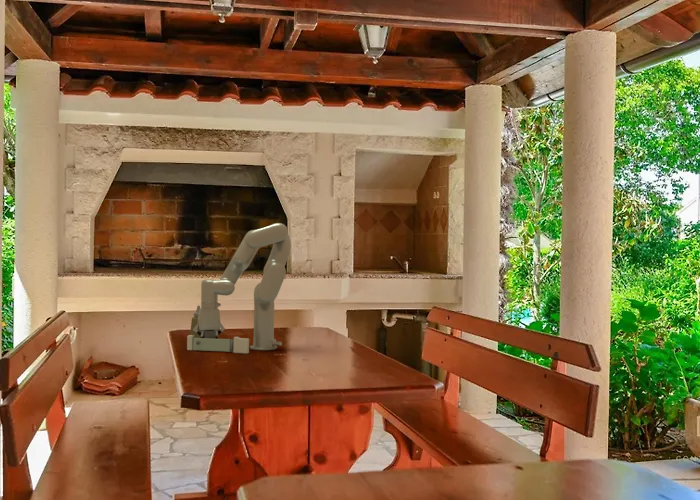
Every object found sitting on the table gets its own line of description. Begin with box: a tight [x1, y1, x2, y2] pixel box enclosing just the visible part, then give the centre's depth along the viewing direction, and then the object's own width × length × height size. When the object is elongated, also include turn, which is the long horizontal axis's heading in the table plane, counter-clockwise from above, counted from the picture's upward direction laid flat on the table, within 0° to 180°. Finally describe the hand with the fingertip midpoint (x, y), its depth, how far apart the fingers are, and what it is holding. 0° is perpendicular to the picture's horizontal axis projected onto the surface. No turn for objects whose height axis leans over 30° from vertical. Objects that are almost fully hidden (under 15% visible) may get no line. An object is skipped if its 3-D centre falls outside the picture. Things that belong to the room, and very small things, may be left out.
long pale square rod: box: [192, 338, 234, 353], centre depth 346 cm, size 19×2×6 cm, turn 82°
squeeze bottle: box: [189, 305, 201, 338], centre depth 376 cm, size 8×8×18 cm
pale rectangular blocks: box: [186, 334, 250, 354], centre depth 347 cm, size 30×3×7 cm, turn 77°
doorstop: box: [203, 330, 216, 339], centre depth 352 cm, size 5×7×8 cm
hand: (208, 344), depth 352 cm, fingers closed on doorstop, 5 cm apart
